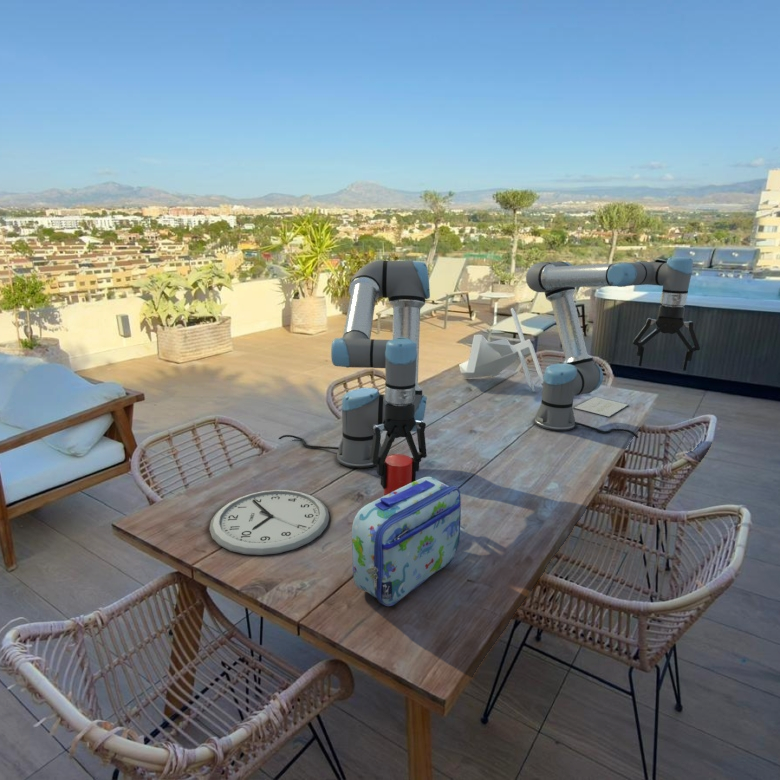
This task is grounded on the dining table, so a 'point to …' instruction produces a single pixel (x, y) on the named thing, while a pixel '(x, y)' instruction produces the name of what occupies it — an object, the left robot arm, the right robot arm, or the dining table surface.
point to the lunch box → (405, 538)
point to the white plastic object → (499, 356)
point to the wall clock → (269, 522)
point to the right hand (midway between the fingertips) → (661, 367)
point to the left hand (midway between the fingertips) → (397, 484)
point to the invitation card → (601, 406)
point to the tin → (398, 472)
